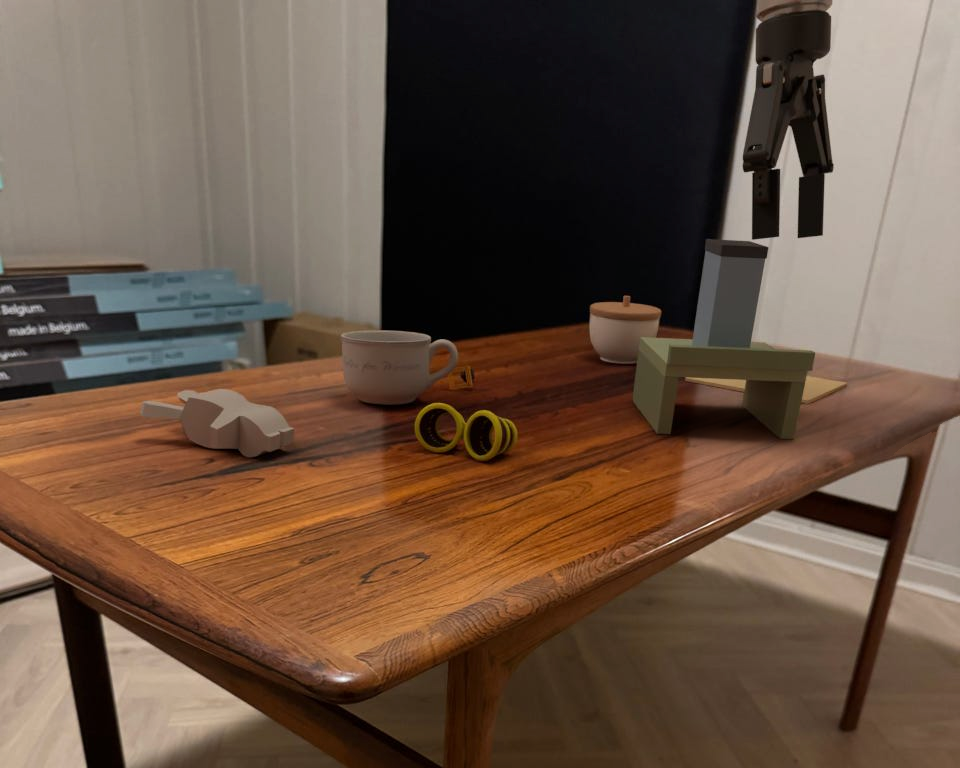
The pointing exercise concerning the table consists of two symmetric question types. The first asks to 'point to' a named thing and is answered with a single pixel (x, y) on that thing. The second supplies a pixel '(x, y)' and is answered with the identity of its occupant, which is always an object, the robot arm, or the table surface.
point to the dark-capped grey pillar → (729, 293)
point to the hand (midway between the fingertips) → (788, 238)
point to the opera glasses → (466, 432)
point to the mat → (812, 391)
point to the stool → (765, 369)
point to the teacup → (391, 365)
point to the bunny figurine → (225, 421)
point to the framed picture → (463, 377)
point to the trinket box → (621, 329)
